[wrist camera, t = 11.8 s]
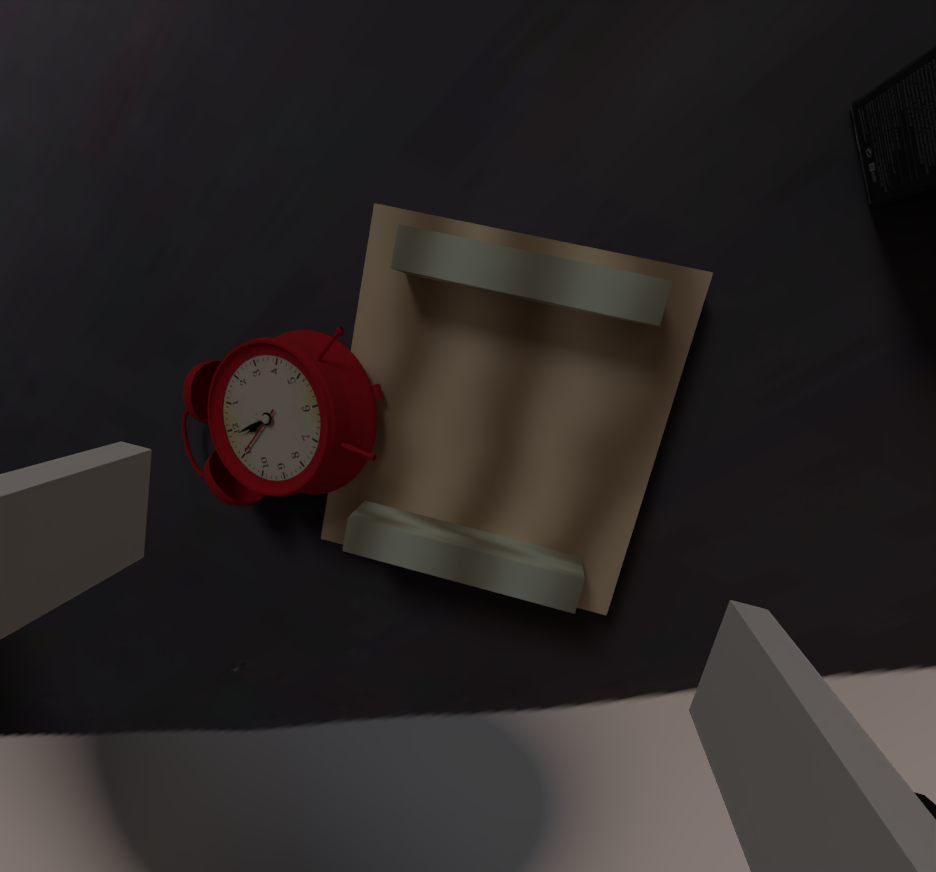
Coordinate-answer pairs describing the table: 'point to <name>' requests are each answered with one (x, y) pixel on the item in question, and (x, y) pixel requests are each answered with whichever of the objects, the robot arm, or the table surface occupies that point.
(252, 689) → the table surface
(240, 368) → the alarm clock
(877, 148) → the box
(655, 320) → the display stand
